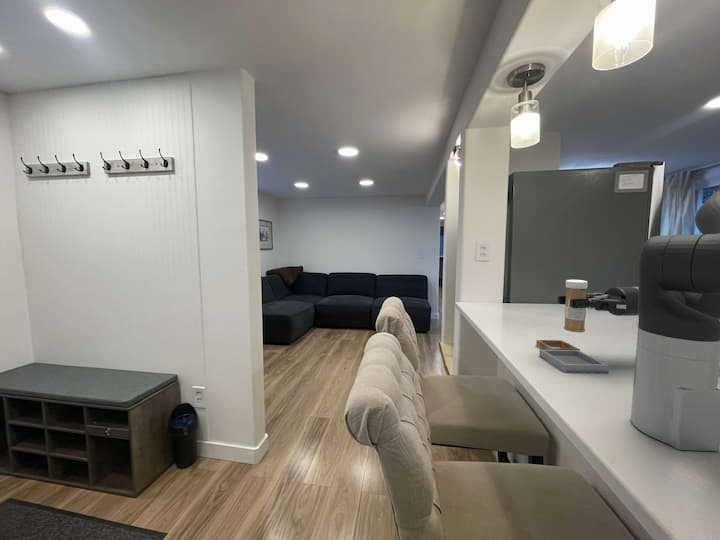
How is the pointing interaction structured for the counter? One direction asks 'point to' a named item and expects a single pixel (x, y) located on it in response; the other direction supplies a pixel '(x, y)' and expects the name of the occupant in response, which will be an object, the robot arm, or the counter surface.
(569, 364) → the slate tray
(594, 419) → the counter surface
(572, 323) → the sprinkles bottle
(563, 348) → the wooden picture frame
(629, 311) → the robot arm
